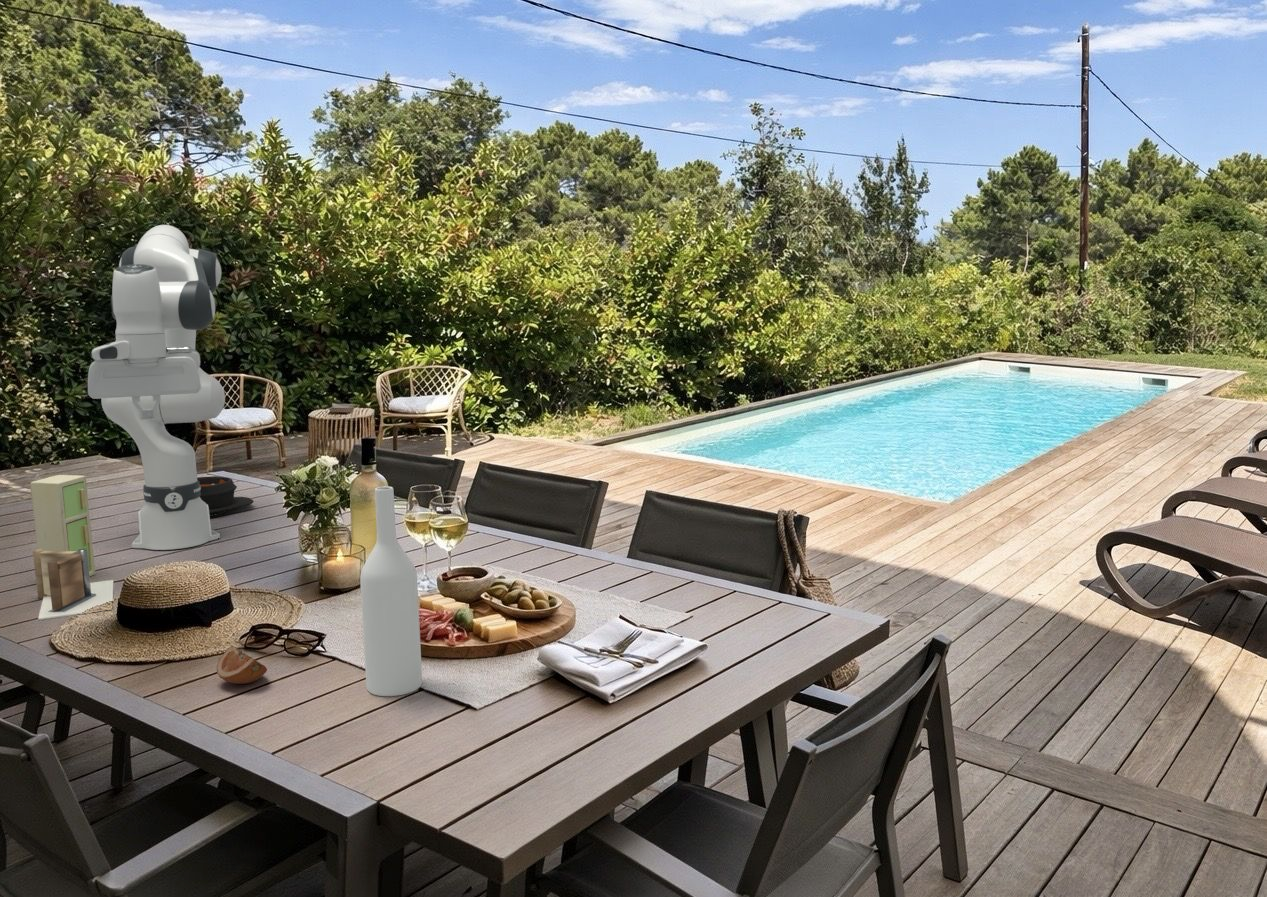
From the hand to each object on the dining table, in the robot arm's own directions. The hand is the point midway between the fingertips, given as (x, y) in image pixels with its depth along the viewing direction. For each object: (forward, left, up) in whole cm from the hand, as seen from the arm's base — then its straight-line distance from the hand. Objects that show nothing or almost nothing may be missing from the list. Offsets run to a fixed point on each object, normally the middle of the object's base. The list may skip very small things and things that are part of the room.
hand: (148, 418), depth 206 cm
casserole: (-64, +12, -33) cm, 73 cm away
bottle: (+78, +29, -33) cm, 90 cm away
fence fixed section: (+4, -17, -33) cm, 38 cm away
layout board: (+7, -15, -33) cm, 37 cm away
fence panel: (+11, -16, -32) cm, 38 cm away
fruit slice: (+66, +9, -33) cm, 75 cm away
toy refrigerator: (-10, -17, -33) cm, 39 cm away
